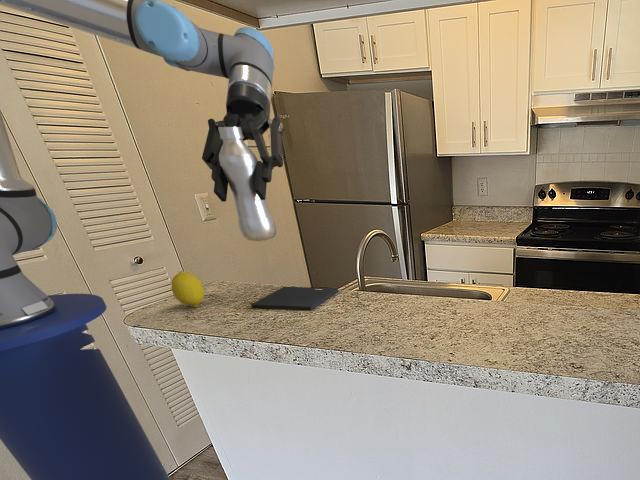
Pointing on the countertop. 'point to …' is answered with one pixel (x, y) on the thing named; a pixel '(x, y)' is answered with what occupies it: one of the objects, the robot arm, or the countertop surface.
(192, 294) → the lemon
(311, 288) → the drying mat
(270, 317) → the countertop surface
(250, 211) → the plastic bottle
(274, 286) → the countertop surface
